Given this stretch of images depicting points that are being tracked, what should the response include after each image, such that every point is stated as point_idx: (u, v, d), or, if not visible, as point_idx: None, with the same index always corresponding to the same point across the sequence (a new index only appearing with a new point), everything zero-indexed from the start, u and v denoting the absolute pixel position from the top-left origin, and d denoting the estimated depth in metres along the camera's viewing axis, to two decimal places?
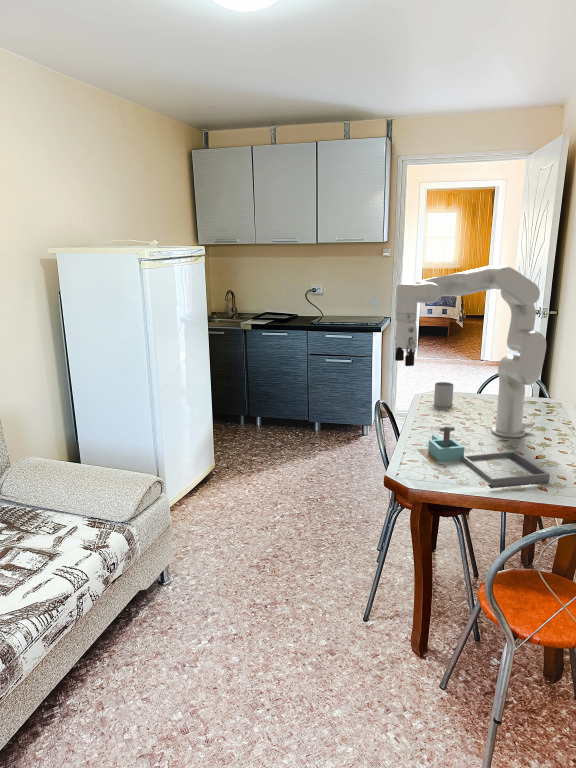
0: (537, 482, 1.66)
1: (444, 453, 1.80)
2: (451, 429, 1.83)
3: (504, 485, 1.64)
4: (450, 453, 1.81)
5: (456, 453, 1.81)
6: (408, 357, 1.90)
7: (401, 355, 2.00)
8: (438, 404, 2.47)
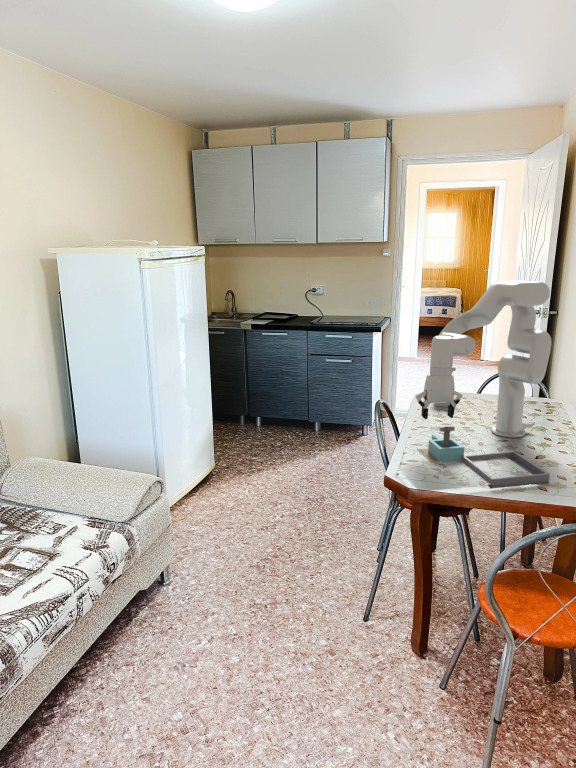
0: (537, 482, 1.66)
1: (444, 453, 1.80)
2: (451, 429, 1.83)
3: (504, 485, 1.64)
4: (450, 453, 1.81)
5: (456, 453, 1.81)
6: (453, 408, 1.88)
7: None
8: (438, 404, 2.47)
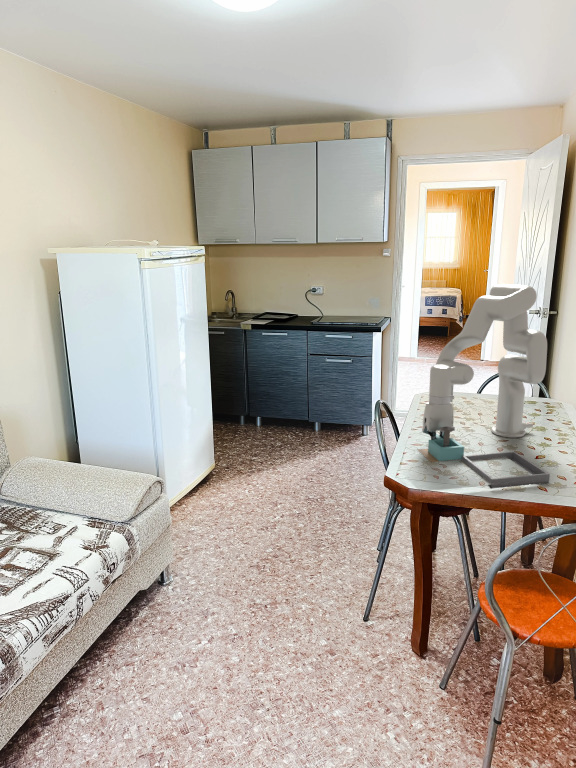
0: (537, 482, 1.66)
1: (444, 453, 1.80)
2: (451, 429, 1.83)
3: (504, 485, 1.64)
4: (450, 453, 1.81)
5: (456, 453, 1.81)
6: None
7: None
8: None
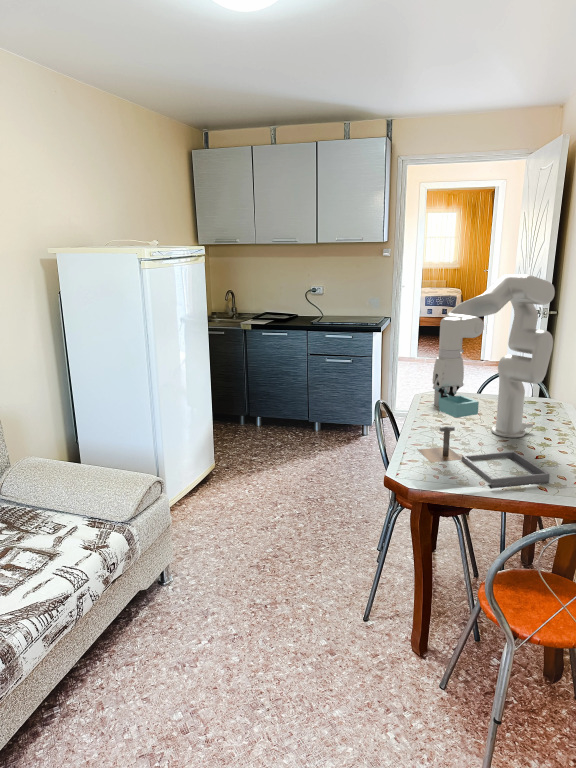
0: (537, 482, 1.66)
1: (460, 409, 1.74)
2: (451, 429, 1.83)
3: (504, 485, 1.64)
4: (466, 408, 1.75)
5: (471, 408, 1.76)
6: (453, 395, 1.84)
7: None
8: (438, 404, 2.47)
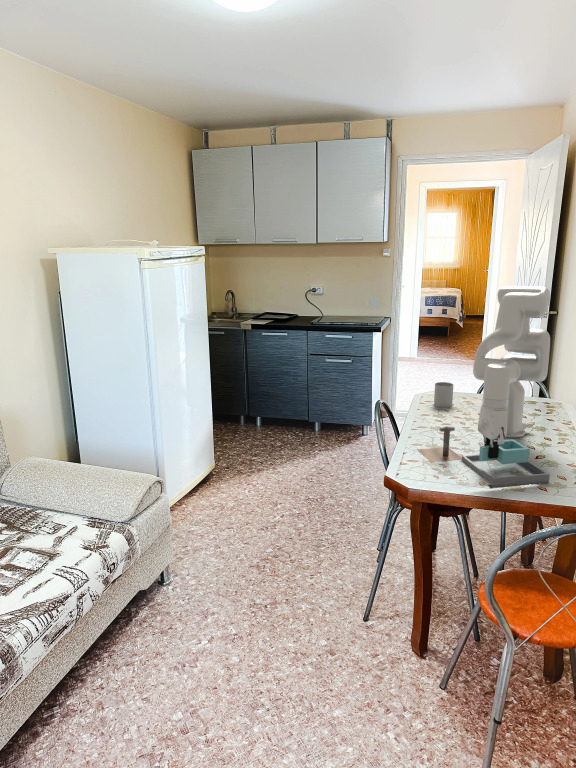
0: (537, 482, 1.66)
1: None
2: (451, 429, 1.83)
3: (504, 485, 1.64)
4: None
5: None
6: None
7: None
8: (438, 404, 2.47)
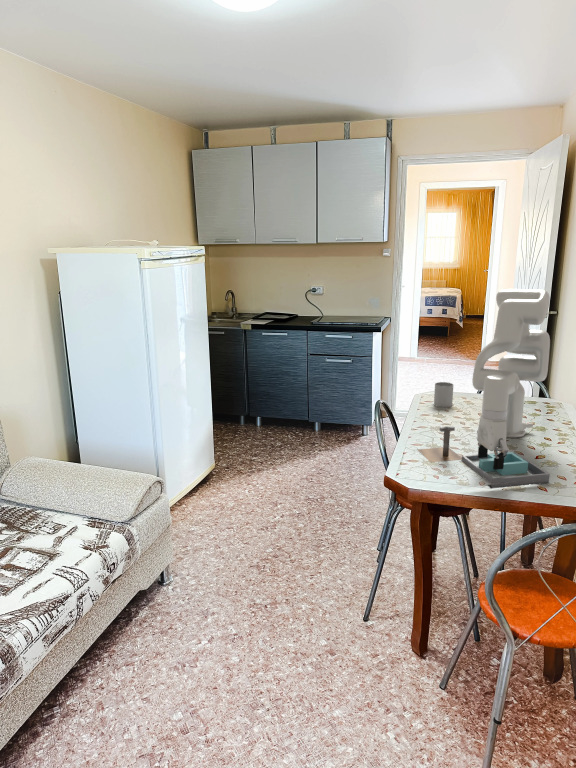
0: (537, 482, 1.66)
1: None
2: (451, 429, 1.83)
3: (504, 485, 1.64)
4: None
5: None
6: None
7: None
8: (438, 404, 2.47)
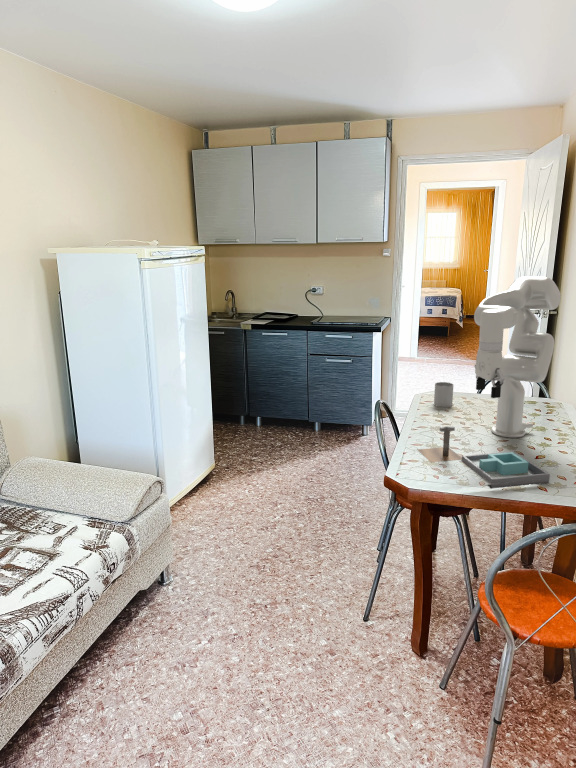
0: (537, 482, 1.66)
1: None
2: (451, 429, 1.83)
3: (504, 485, 1.64)
4: None
5: None
6: None
7: None
8: (438, 404, 2.47)
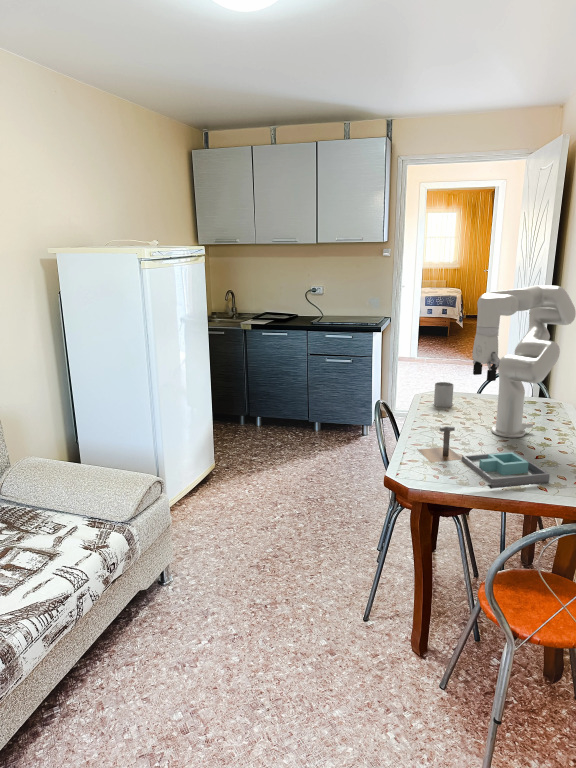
0: (537, 482, 1.66)
1: None
2: (451, 429, 1.83)
3: (504, 485, 1.64)
4: None
5: None
6: None
7: None
8: (438, 404, 2.47)
